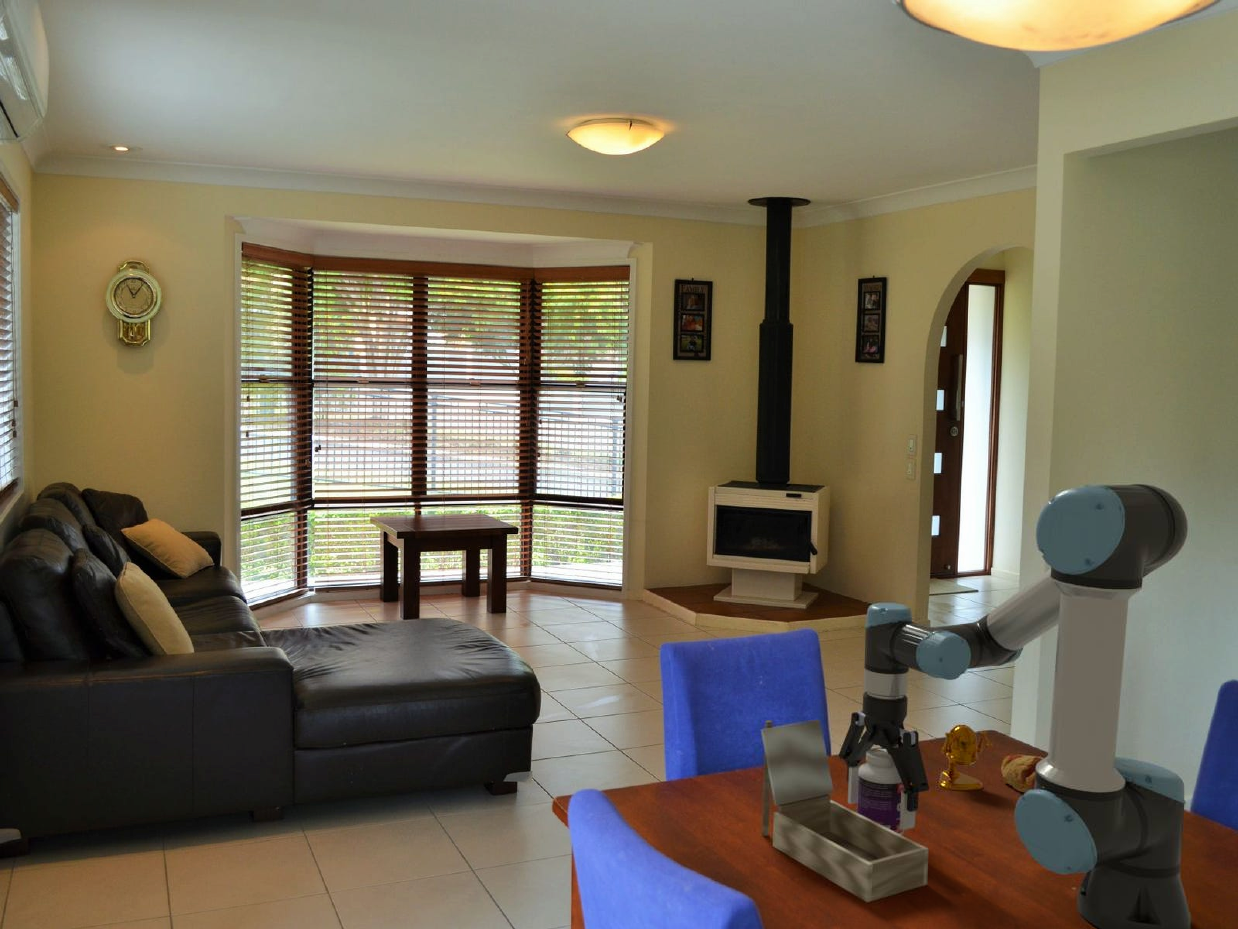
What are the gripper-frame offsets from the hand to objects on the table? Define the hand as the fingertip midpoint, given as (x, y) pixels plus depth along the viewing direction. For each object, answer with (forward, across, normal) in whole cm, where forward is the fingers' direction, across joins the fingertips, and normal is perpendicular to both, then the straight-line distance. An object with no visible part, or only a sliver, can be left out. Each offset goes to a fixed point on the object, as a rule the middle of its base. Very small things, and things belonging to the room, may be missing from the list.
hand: (880, 815), depth 187 cm
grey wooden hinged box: (+3, -4, +14) cm, 15 cm away
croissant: (+4, +3, -44) cm, 44 cm away
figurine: (+4, +11, -32) cm, 34 cm away
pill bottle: (+4, 0, 0) cm, 4 cm away
